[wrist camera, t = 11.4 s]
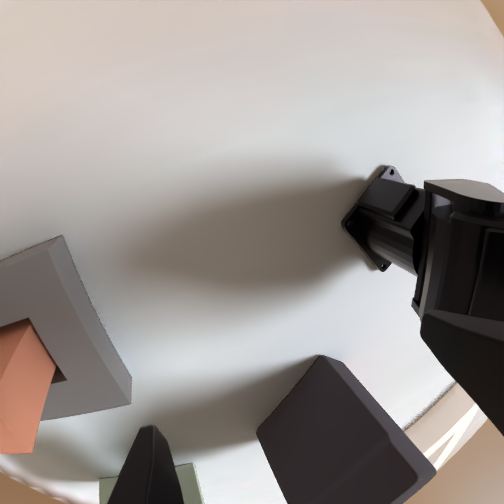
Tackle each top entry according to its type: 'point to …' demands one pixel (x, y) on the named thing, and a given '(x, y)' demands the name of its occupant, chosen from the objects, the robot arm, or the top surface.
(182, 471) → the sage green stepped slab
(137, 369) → the top surface
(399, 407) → the top surface
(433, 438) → the white slab
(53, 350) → the socket block
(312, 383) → the black flat block
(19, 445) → the peg
